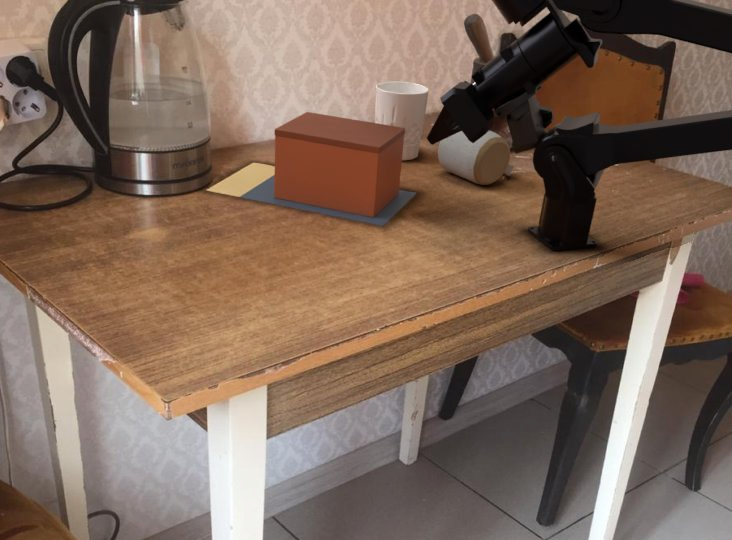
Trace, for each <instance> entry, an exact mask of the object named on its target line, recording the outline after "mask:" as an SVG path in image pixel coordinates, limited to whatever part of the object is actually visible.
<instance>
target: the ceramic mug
mask: <svg viewBox="0 0 732 540" xmlns="http://www.w3.org/2000/svg"><path fill="white" fill-rule="evenodd" d="M437 158H438V162H439V165H440V166H441V168H442V169H443V170H445V171H446V172H448V173H451V174H454V175H455V176H458V177H460V178H462V179H466V180H467V181H469V182H471V183H475V184H477V185H480V186H481V185H482V186H487V185H491V184H494V183H495V182H496V181H498V180H500V178H501V177H502V176H503V175H505V176H508V177H510V175H511V174H512V172H513V169H514V165H512V164H510V159H511V149H510V148H509V145H508V143H507V142H506V140H505V139H503V138H502V137H501V136H499V135H498V134H496V133H494V132H492V131H490V130H489V131H488V132H487V133H486V134H485V135H484V136H482V137H481V138H480V139H478V140H477V141H476V142H474V143H472V142H470V141H469V140H468V138H467V137H466V136H465V134H464V133H463V132H462V131H460V132H458V133H456V134H454V135H452V136H450V137H448V138H445V139H443V140H441V141H439V144H438V148H437Z"/></svg>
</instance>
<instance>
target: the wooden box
mask: <svg viewBox="0 0 732 540" xmlns="http://www.w3.org/2000/svg"><path fill="white" fill-rule="evenodd" d="M404 134H405V128H402V127H396V126H390V125H383V124H377V123H375V122H370V121H366V120H358V119H353V118H347V117H341V116H334V115H330V114H329V115H328V114H323V113H317V112H316V113H315V112H311V111H306V112H304V113H302V114H300V115H298V116H297V117H294V118H293V119H291V120H289V121H288V122H285V123H284V124H281V125H280V126H278V127H276V128H274V166H275V176H274V198H278V199H283V200H288V201H293V202H298V203H303V204H308V205H313V206H318V207H324V208H329V209H334V210H339V211H344V212H349V213H354V214H359V215H364V216H369V217H375V216H376V215H377V214H378V213H379V212H380V211H381V210H382V209H383V208H384V207H385V206H386V205H388V204H389V203H390V202H391V201H392V200H393V199H394V198H395V197H396V196H397V195H398V194H399V190H400V182H401V171H402V163H403V160H402V153H403V143H404Z"/></svg>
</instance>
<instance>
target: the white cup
mask: <svg viewBox="0 0 732 540" xmlns="http://www.w3.org/2000/svg"><path fill="white" fill-rule="evenodd" d="M429 93H430V89H429V87H427V86H425V85H422V84H419V83H414V82H409V81H399V80H397V81H383V82H379V83H377V84H375V96H374V97H375V99H374V101H375V102H374V123H377V124H383V125H390V126H396V127H402V128H405V134H404V143H403V153H402V161H411V160H414V159H416V158H418V156H419V150H420V144H421V139H422V136H423V135H422V134H423V131H424V124H425V119H426V112H427V107H428V106H427V105H428V100H429Z"/></svg>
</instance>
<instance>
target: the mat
mask: <svg viewBox="0 0 732 540" xmlns="http://www.w3.org/2000/svg"><path fill="white" fill-rule="evenodd" d="M274 176H275V165H270V164H264V163H259V162H252V163H250V164H249V165H247V166H245V167H243V168H241V169H240V170H238V171H236V172H234V173H233V174H231V175H230V176H228V177H226V178H224V179H223V180H221V181H219V182H218V183H216V184H214V185H212V186H210V187H209V188H207V189H205V191H207V192H211V193H215V194H221V195H226V196H231V197H237V198H241V199H246V200H250V201H256V202H259V203H266V204H271V205H276V206H280V207H281V206H282V207H286V208H290V209H296V210H301V211H306V212H310V213H316V214H321V215H325V216H331V217H335V218H341V219H346V220H351V221H355V222H360V223H366V224H370V225H376V226H380V227H384V226H385V225H386V224H387V223H389V222H390V220H392V218H393V217H395V216H396V215H397V213H398V212H399V211H401V210H402V209H403V208H404V207H406V205H407V204H408V203H409V202H410V201H411V200H412V199H413V198H414V197H415V196H416V195H417V194H418V192H415V191H410V190H409V191H408V190H403V189H399V194H398V195H397V196H396V197H395V198H394V199H393V200H392V201H391V202H390V203H389V204H388V205H386V206H385V207H384V208H383V209H382V210H381V211H380V212H379V213H378V214H377V215H376V216H375V217H369V216H364V215H359V214H354V213H349V212H344V211H339V210H334V209H329V208H324V207H318V206H313V205H308V204H303V203H298V202H293V201H288V200H283V199H278V198H274Z"/></svg>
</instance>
